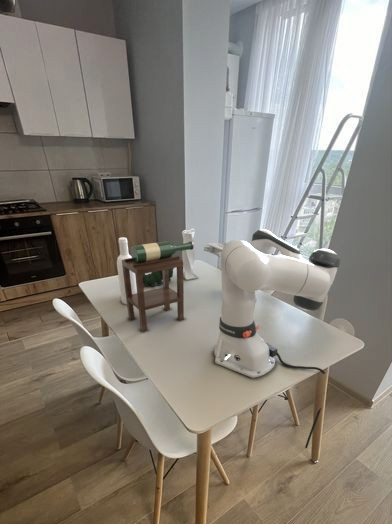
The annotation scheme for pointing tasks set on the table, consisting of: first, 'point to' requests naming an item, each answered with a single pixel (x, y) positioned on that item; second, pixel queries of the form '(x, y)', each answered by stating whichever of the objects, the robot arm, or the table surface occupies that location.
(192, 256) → the skyscraper
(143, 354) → the table surface
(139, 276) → the stand
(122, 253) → the bottle
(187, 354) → the table surface
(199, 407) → the table surface
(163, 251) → the bottle
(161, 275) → the toy figurine
